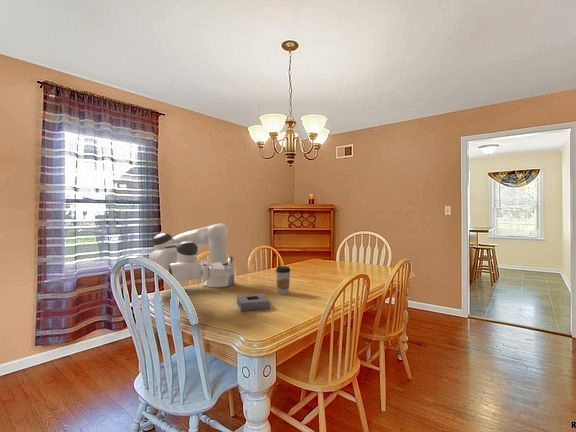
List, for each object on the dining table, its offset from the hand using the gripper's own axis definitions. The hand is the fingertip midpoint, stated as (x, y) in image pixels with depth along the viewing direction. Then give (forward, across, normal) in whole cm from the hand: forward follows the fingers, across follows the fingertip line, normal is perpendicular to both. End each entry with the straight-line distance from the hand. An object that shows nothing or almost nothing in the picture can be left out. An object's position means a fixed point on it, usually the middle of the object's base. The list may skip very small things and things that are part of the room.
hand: (233, 268), depth 153 cm
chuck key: (-1, 0, -8) cm, 8 cm away
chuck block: (+10, +2, -19) cm, 21 cm away
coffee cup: (+30, -17, -19) cm, 40 cm away
